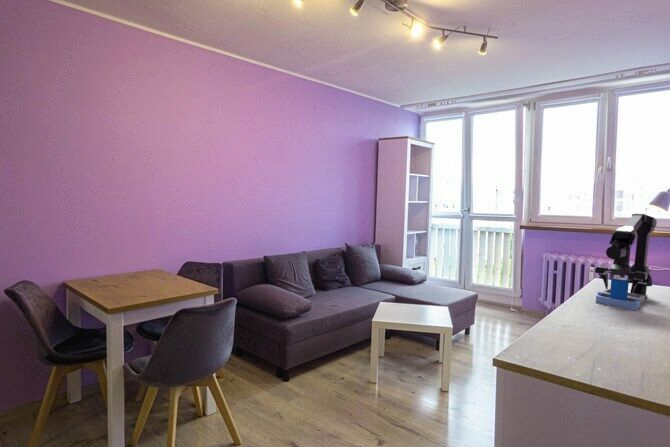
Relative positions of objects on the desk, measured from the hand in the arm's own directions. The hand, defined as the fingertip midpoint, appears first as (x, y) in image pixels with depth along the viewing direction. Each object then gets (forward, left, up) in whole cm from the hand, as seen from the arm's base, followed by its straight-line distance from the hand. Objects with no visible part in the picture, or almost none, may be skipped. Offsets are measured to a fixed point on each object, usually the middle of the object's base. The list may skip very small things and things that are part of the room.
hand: (618, 291), depth 177 cm
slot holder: (-5, 0, -6) cm, 8 cm away
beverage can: (0, 0, -6) cm, 6 cm away
